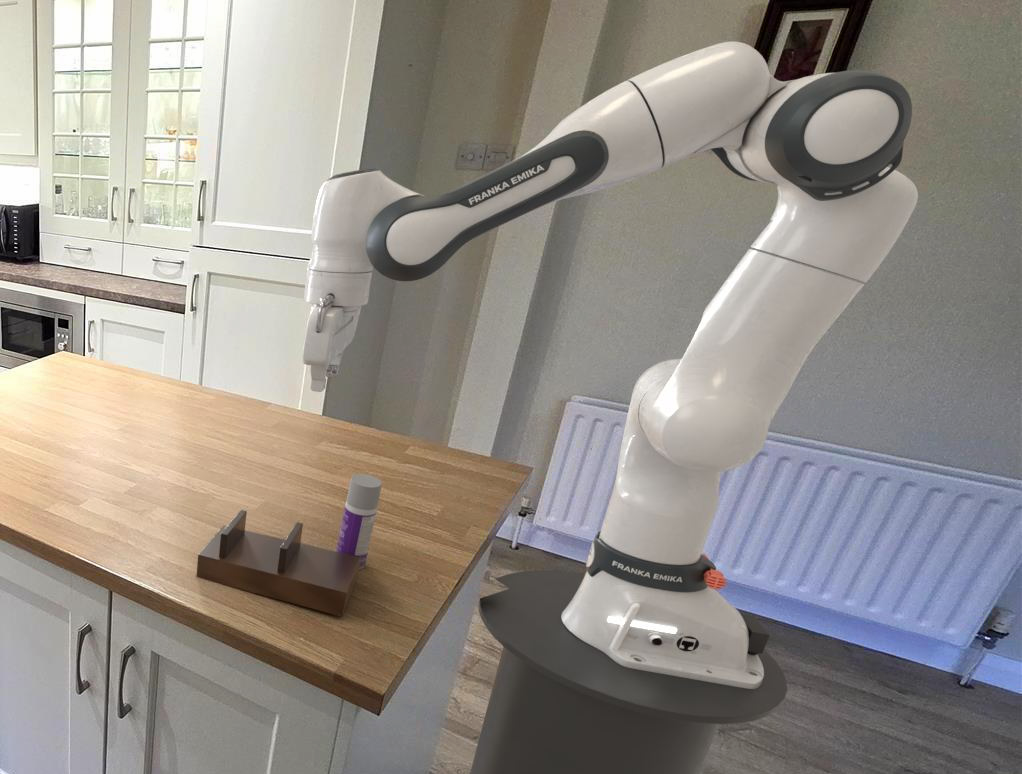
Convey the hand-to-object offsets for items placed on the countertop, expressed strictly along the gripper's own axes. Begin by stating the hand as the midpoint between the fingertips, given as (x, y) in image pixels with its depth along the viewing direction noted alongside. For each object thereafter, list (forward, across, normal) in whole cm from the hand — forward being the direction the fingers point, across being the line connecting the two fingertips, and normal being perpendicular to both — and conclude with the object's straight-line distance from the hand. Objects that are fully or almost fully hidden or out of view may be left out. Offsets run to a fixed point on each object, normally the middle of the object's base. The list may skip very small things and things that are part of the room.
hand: (324, 383), depth 111 cm
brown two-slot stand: (+30, -9, +2) cm, 31 cm away
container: (+30, +2, -7) cm, 31 cm away
